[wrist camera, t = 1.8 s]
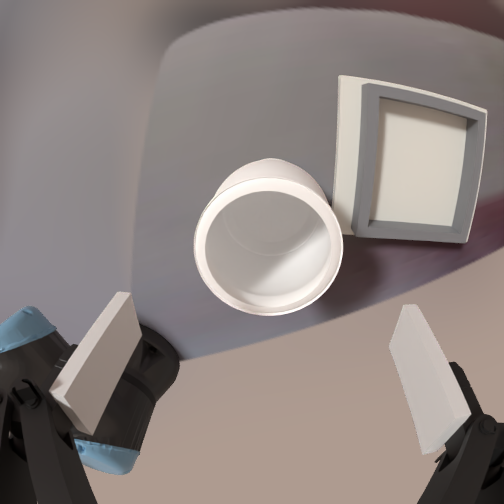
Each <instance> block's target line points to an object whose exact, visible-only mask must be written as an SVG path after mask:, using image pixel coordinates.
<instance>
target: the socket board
mask: <svg viewBox="0 0 504 504" xmlns="http://www.w3.org/2000/svg"><path fill="white" fill-rule="evenodd" d="M486 124H487V110H485V109H482V108H480V107H477V106H474V105H471V104H468V103H465V102H462V101H459V100H456V99H453V98H449V97H446V96H443V95H439V94H435V93H432V92H428V91H424V90H420V89H416V88H412V87H407V86H403V85H398V84H393V83H388V82H383V81H378V80H372V79H366V78H359V77H352V76H344V75H340V76H338V118H337V141H336V159H335V173H334V187H333V198H332V210H333V212H334V213H335V215H336V217H337V220H338V222H339V226H340V229H341V233H342V234H346V235H355V236H356V237H367V238H386V239H404V240H421V241H438V242H453V243H466V242H467V240H468V236H469V232H470V228H471V224H472V220H473V215H474V211H475V206H476V201H477V196H478V191H479V185H480V179H481V172H482V165H483V157H484V148H485V138H486Z"/></svg>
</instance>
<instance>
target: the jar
mask: <svg viewBox="0 0 504 504" xmlns="http://www.w3.org/2000/svg"><path fill="white" fill-rule="evenodd" d="M342 255H343V239H342V233H341V229H340V226H339V222H338V220H337V217H336V215H335V213H334V212H333V210H332V208H331V207H330V205H329V203H328V201H327V198H326V196H325V194H324V192H323V191H322V189H321V187H320V186H319V185H318V183H317V182H316V181H315V180H314V179H313V178H312V177H311V176H310V175H309V174H308V173H307V172H306V171H304V170H303V169H301V168H300V167H298V166H296V165H294V164H291V163H289V162H286V161H284V160H280V159H274V158H270V159H263V160H259V161H255V162H252V163H249V164H247V165H245V166H243V167H241V168H239V169H238V170H236V171H235V172H234V173H232V174H231V175H230V176H229V177H228V178H227V179H226V180H225V181H224V182H223V184H222V185H221V186H220V188H219V189H218V191H217V192H216V194H215V196H214V198H213V199H212V200H211V201H210V202H209V204H208V205H207V206H206V208H205V210H204V211H203V213H202V215H201V217H200V219H199V222H198V224H197V227H196V231H195V236H194V256H195V261H196V265H197V268H198V271H199V273H200V275H201V277H202V279H203V280H204V282H205V283H206V285H207V286H208V287H209V289H210V290H211V291H212V292H213V293H214V294H215V295H216V296H217V297H218V298H220V299H221V300H222V301H224V302H225V303H227V304H228V305H230V306H232V307H234V308H236V309H238V310H241V311H244V312H247V313H251V314H256V315H265V316H272V315H282V314H287V313H291V312H294V311H297V310H299V309H302V308H304V307H306V306H308V305H309V304H311V303H312V302H314V301H315V300H317V299H318V298H319V297H320V296H321V295H322V294H323V293H324V292H325V291H326V290H327V289H328V288H329V286H330V285H331V284H332V282H333V281H334V279H335V277H336V275H337V273H338V271H339V268H340V265H341V261H342Z"/></svg>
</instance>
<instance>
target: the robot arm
mask: <svg viewBox="0 0 504 504" xmlns="http://www.w3.org/2000/svg"><path fill="white" fill-rule="evenodd" d="M56 329H57V328H56V327H55V326H54V325H52V324H51V323H50V322H49V321H48V320H47V319H46V317H44V316H43V314H42V313H41V312H40V311H39V310H38V309H37V308H35V307H33V306H26V307H24V308H22V309H20V310H19V311H18V312H16V313H15V314H13V315H12V316H11V317H9V318H8V319H7V320H6V321H4V322H3V323H2V324H0V504H37V502H38V504H97V501H96V499H95V496H94V494H93V492H92V489H91V487H90V484H89V482H88V479H87V476H86V474H85V471H84V468H83V465H85V466H88V467H90V468H93V469H96V470H99V471H102V472H105V473H110V474H115V475H124V474H127V473H129V472H130V471H131V470H132V468H133V466H134V464H135V461H136V459H137V457H138V456H139V455H140V449H141V446H142V443H143V440H144V437H145V434H146V431H147V428H148V424H149V422H150V419H151V416H152V413H153V410H154V407H155V405H156V402H157V401H158V400H159V398H160V397H161V396H162V395H163V394H164V393H165V392H166V391H167V390H168V388H169V387H170V386H171V385H172V384H173V383H174V381H175V380H176V377H177V374H178V371H179V367H180V365H179V364H180V363H179V359H178V356H177V354H176V352H175V350H174V349H173V348H172V346H171V345H170V344H169V343H168V342H167V341H166V340H165V339H164V338H163V337H161V336H160V335H159V334H157V333H156V332H154V331H152V330H151V329H149V328H147V327H144V326H142V325H139V322H138V319H137V315H136V311H135V307H134V304H133V300H132V296H131V293H126V292H117V293H116V295H115V296H114V297H113V299H112V300H111V301H110V303H109V304H108V305H107V307H106V308H105V309H104V311H103V312H102V313H101V315H100V316H99V317H98V319H97V320H96V322H95V323H94V324H93V326H92V327H91V328H90V330H89V331H88V333H87V334H86V336H85V337H84V338H83V340H82V341H81V343H80V344H79V345H76V344H73V345H71V346H70V345H69V344H68V343H67V342H66V341H65V340H64V339H63V337H62V336H61V335H60V334H59V333H58V332H57V331H56ZM389 349H390V352H391V354H392V357H393V360H394V362H395V366H396V368H397V371H398V374H399V377H400V380H401V383H402V386H403V389H404V392H405V396H406V399H407V402H408V405H409V408H410V412H411V415H412V418H413V422H414V425H415V429H416V433H417V436H418V440H419V444H420V448H421V451H422V455H423V454H428V453H432V452H435V451H438V450H439V449H440V448H441V447H442V446H443V445H444V444H445V447H446V451H445V452H444V453H442V454H441V455H440V456H439V457H438V458H437V460H436V461H435V462H436V463H437V462H438V461H439V460H440V462H439V464H438V466H437V468H436V470H435V472H434V474H433V476H432V478H431V480H430V482H429V483H428V485H427V487H426V489H425V491H424V492H423V494H422V496H421V498H420V499H419V501H418V503H417V504H504V423H497V422H496V420H495V419H494V418H493V417H492V416H490V415H487V414H484V413H483V411H482V409H481V407H480V405H479V402H478V401H477V399H476V396H475V394H474V392H473V390H472V388H471V387H470V383H469V381H468V380H467V377H466V375H465V373H464V371H463V369H462V368H461V367H460V366H458V364H457V363H456V362H449V363H448V361H447V359H446V357H445V355H444V353H443V351H442V349H441V347H440V345H439V343H438V342H437V340H436V338H435V336H434V334H433V332H432V330H431V329H430V327H429V325H428V323H427V321H426V320H425V318H424V316H423V314H422V312H421V311H420V309H419V308H418V306H417V305H416V304H411V305H403V308H402V311H401V314H400V317H399V320H398V322H397V326H396V328H395V331H394V334H393V336H392V339H391V342H390V344H389ZM82 464H83V465H82Z"/></svg>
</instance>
